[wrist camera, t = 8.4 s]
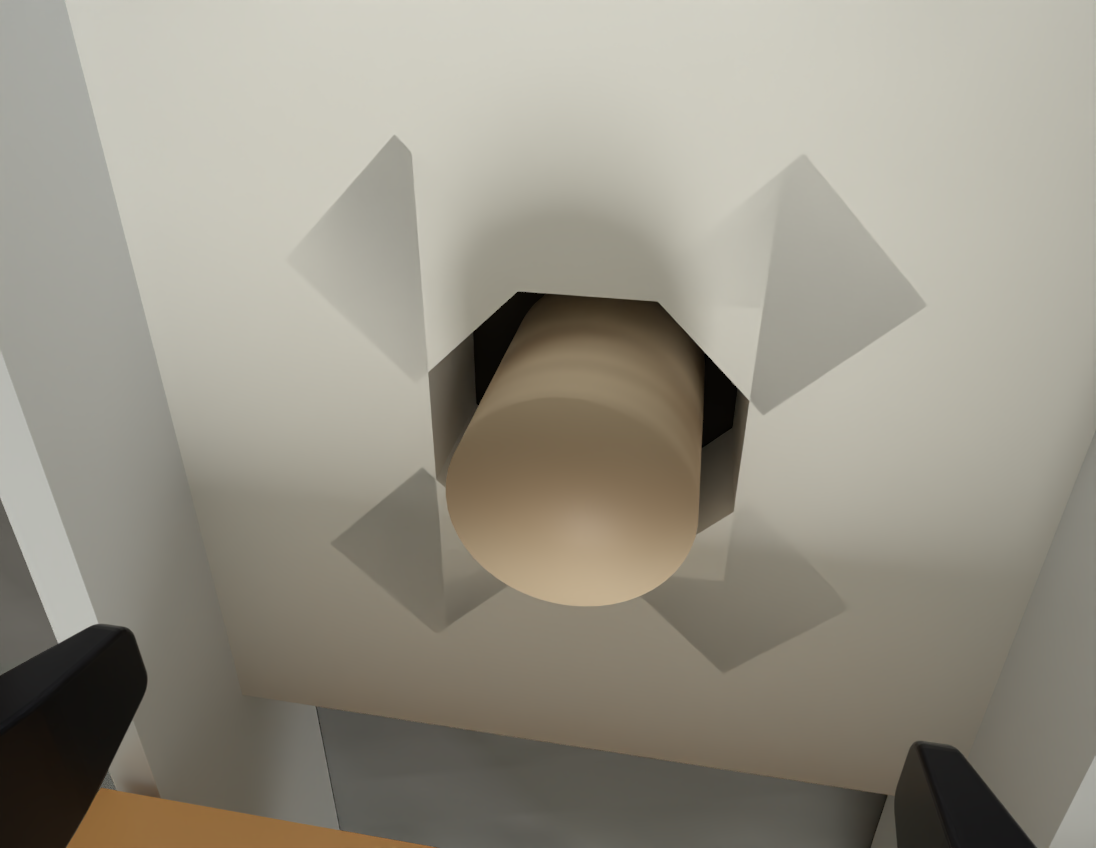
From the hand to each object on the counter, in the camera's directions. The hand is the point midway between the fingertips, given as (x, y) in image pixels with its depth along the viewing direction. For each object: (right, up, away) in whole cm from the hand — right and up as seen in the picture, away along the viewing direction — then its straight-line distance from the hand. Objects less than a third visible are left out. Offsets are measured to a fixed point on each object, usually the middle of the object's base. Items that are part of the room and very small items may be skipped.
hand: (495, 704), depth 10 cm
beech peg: (+2, +4, +8) cm, 9 cm away
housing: (+2, 0, +10) cm, 10 cm away
